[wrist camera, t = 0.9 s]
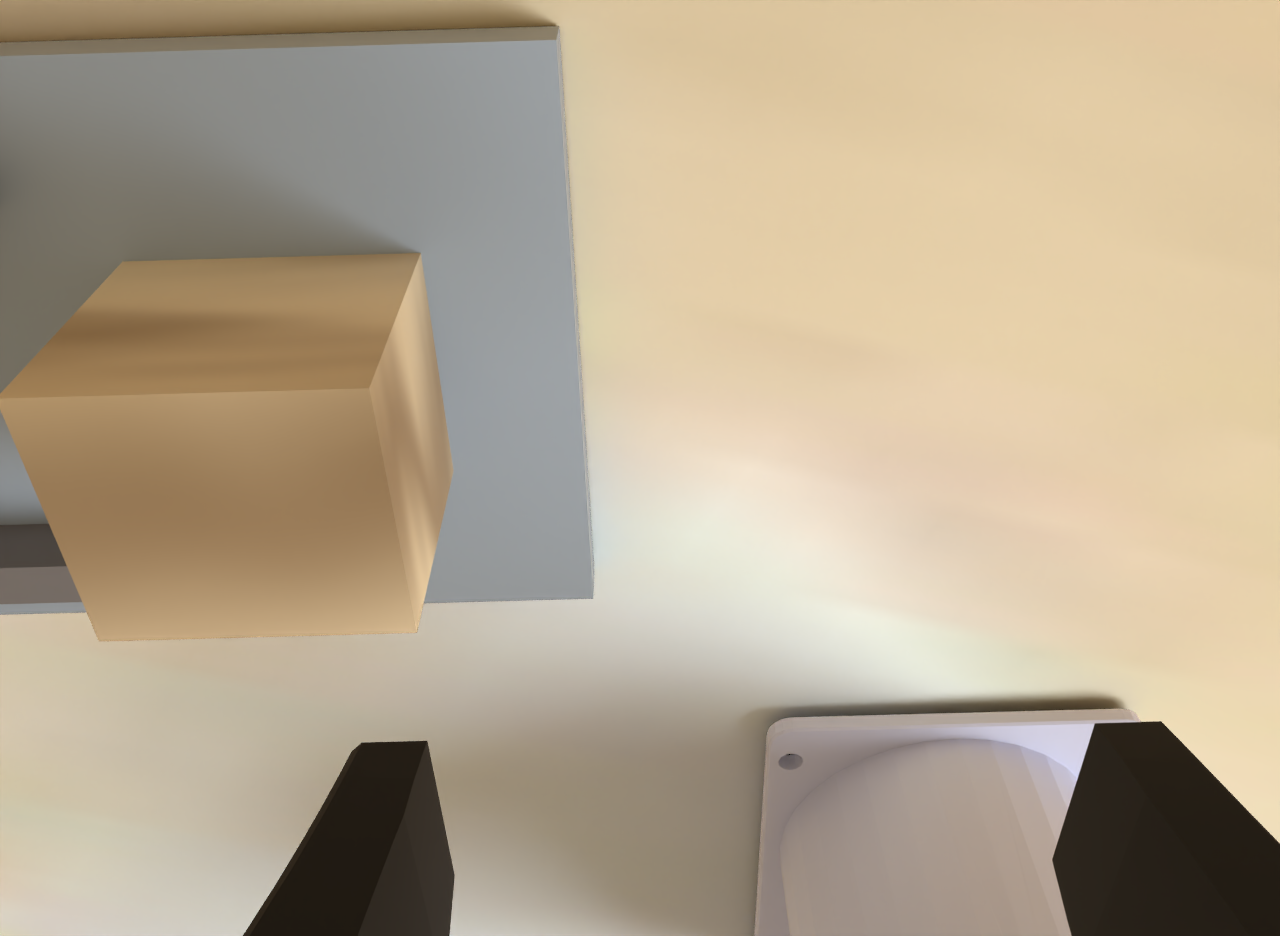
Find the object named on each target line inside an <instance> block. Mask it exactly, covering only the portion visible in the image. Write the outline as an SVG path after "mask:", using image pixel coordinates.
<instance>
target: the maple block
mask: <svg viewBox="0 0 1280 936" xmlns="http://www.w3.org/2000/svg"><path fill="white" fill-rule="evenodd" d="M0 410H1V413H2V415H3V417H4V420H5V422H6V424H7V427H8V429H9V431H10V434H11V436H12V438H13V441H14V443H15V445H16V448H17V450H18V452H19V455H20V457H21V460H22V462H23V464H24V467H25V469H26V471H27V474H28V476H29V478H30V481H31V483H32V485H33V488H34V490H35V492H36V495H37V497H38V499H39V502H40V504H41V506H42V509H43V511H44V513H45V516H46V518H47V520H48V523H49V525H50V527H51V530H52V532H53V534H54V537H55V539H56V542H57V544H58V546H59V549H60V551H61V553H62V556H63V558H64V560H65V563H66V565H67V567H68V570H69V572H70V574H71V577H72V579H73V581H74V584H75V586H76V588H77V591H78V593H79V595H80V598H81V600H82V602H83V605H84V607H85V609H86V612H87V614H88V617H89V619H90V621H91V624H92V626H93V628H94V631H95V633H96V635H97V638H98V640H99V641H131V640H168V639H205V638H242V637H279V636H316V635H353V634H390V633H417V630H418V626H419V621H420V617H421V613H422V608H423V604H424V599H425V595H426V590H427V586H428V582H429V577H430V573H431V568H432V564H433V560H434V555H435V551H436V546H437V542H438V537H439V533H440V529H441V524H442V520H443V515H444V511H445V507H446V502H447V498H448V493H449V489H450V485H451V480H452V476H453V471H454V470H453V463H452V457H451V450H450V443H449V437H448V430H447V423H446V417H445V410H444V404H443V397H442V390H441V384H440V377H439V370H438V364H437V357H436V351H435V344H434V337H433V331H432V324H431V317H430V311H429V304H428V298H427V291H426V284H425V278H424V271H423V264H422V258H421V253H402V254H367V255H332V256H297V257H262V258H227V259H192V260H157V261H123V262H122V263H121V264H120V265H119V266H118V267H117V268H116V269H115V270H114V271H113V272H112V273H111V275H110V276H109V277H108V278H107V279H106V280H105V281H104V282H103V283H102V284H101V285H100V286H99V288H98V289H97V290H96V291H95V292H94V293H93V294H92V295H91V296H90V297H89V298H88V299H87V300H86V302H85V303H84V304H83V305H82V306H81V307H80V308H79V309H78V310H77V311H76V312H75V313H74V315H73V316H72V317H71V318H70V319H69V320H68V321H67V322H66V323H65V324H64V325H63V326H62V328H61V329H60V330H59V331H58V332H57V333H56V334H55V335H54V336H53V337H52V338H51V339H50V340H49V342H48V343H47V344H46V345H45V346H44V347H43V348H42V349H41V350H40V351H39V352H38V353H37V355H36V356H35V357H34V358H33V359H32V360H31V361H30V362H29V363H28V364H27V365H26V366H25V368H24V369H23V370H22V371H21V372H20V373H19V374H18V375H17V376H16V377H15V378H14V379H13V380H12V382H11V383H10V384H9V385H8V386H7V387H6V388H5V389H4V390H3V391H2V392H1V393H0Z"/></svg>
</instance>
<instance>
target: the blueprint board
mask: <svg viewBox="0 0 1280 936" xmlns="http://www.w3.org/2000/svg"><path fill="white" fill-rule="evenodd" d="M402 253H421V258H422V264H423V271H424V278H425V284H426V291H427V298H428V304H429V311H430V317H431V324H432V331H433V337H434V344H435V351H436V357H437V364H438V370H439V377H440V384H441V390H442V397H443V404H444V410H445V417H446V423H447V430H448V437H449V443H450V450H451V457H452V463H453V470H454V471H453V476H452V480H451V485H450V489H449V493H448V498H447V502H446V507H445V511H444V515H443V520H442V524H441V529H440V533H439V537H438V542H437V546H436V551H435V555H434V560H433V564H432V568H431V573H430V577H429V582H428V586H427V590H426V595H425V599H424V603H447V602H484V601H521V600H558V599H593V592H594V560H593V544H592V528H591V513H590V497H589V482H588V466H587V451H586V435H585V419H584V404H583V388H582V373H581V357H580V342H579V326H578V311H577V295H576V279H575V264H574V248H573V233H572V217H571V202H570V186H569V171H568V155H567V139H566V124H565V108H564V93H563V77H562V62H561V46H560V30H559V26H542V27H508V28H474V29H440V30H406V31H372V32H337V33H303V34H269V35H235V36H201V37H167V38H133V39H99V40H65V41H31V42H0V393H1V392H2V391H3V390H4V389H5V388H6V387H7V386H8V385H9V384H10V383H11V382H12V380H13V379H14V378H15V377H16V376H17V375H18V374H19V373H20V372H21V371H22V370H23V369H24V368H25V366H26V365H27V364H28V363H29V362H30V361H31V360H32V359H33V358H34V357H35V356H36V355H37V353H38V352H39V351H40V350H41V349H42V348H43V347H44V346H45V345H46V344H47V343H48V342H49V340H50V339H51V338H52V337H53V336H54V335H55V334H56V333H57V332H58V331H59V330H60V329H61V328H62V326H63V325H64V324H65V323H66V322H67V321H68V320H69V319H70V318H71V317H72V316H73V315H74V313H75V312H76V311H77V310H78V309H79V308H80V307H81V306H82V305H83V304H84V303H85V302H86V300H87V299H88V298H89V297H90V296H91V295H92V294H93V293H94V292H95V291H96V290H97V289H98V288H99V286H100V285H101V284H102V283H103V282H104V281H105V280H106V279H107V278H108V277H109V276H110V275H111V273H112V272H113V271H114V270H115V269H116V268H117V267H118V266H119V265H120V264H121V263H122V262H123V261H157V260H192V259H227V258H262V257H297V256H332V255H367V254H402ZM79 612H86V609H85V607H84V605H83V602H82V600H81V598H80V595H79V593H78V591H77V588H76V586H75V584H74V581H73V579H72V577H71V574H70V572H69V570H68V567H67V565H66V563H65V560H64V558H63V556H62V553H61V551H60V549H59V546H58V544H57V542H56V539H55V537H54V534H53V532H52V530H51V527H50V525H49V523H48V520H47V518H46V516H45V513H44V511H43V509H42V506H41V504H40V502H39V499H38V497H37V495H36V492H35V490H34V488H33V485H32V483H31V481H30V478H29V476H28V474H27V471H26V469H25V467H24V464H23V462H22V460H21V457H20V455H19V452H18V450H17V448H16V445H15V443H14V441H13V438H12V436H11V434H10V431H9V429H8V427H7V424H6V422H5V420H4V417H3V415H2V413H1V410H0V615H6V614H43V613H79Z"/></svg>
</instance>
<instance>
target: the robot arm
mask: <svg viewBox="0 0 1280 936" xmlns="http://www.w3.org/2000/svg"><path fill="white" fill-rule="evenodd" d="M791 753H792V754H793V755H788V756H787V755H786V754H791ZM453 887H454V871H453V866H452V861H451V856H450V851H449V846H448V841H447V836H446V831H445V826H444V821H443V817H442V812H441V807H440V802H439V797H438V792H437V787H436V782H435V777H434V772H433V767H432V762H431V758H430V753H429V748H428V743H427V741H408V742H370V743H361V744H360V745H359V746H358V747H356V748H355V749H354V750H353V751H352V752H351V754H350V756H349V758H348V760H347V761H346V763H345V765H344V767H343V769H342V771H341V773H340V775H339V777H338V778H337V780H336V782H335V784H334V786H333V788H332V789H331V791H330V793H329V795H328V797H327V798H326V800H325V802H324V804H323V806H322V807H321V809H320V811H319V813H318V814H317V816H316V818H315V820H314V821H313V823H312V825H311V827H310V828H309V830H308V832H307V833H306V835H305V837H304V839H303V840H302V842H301V844H300V845H299V847H298V849H297V850H296V852H295V854H294V855H293V857H292V859H291V860H290V862H289V864H288V865H287V867H286V869H285V870H284V872H283V873H282V875H281V877H280V878H279V880H278V882H277V883H276V885H275V887H274V888H273V890H272V891H271V893H270V894H269V896H268V898H267V899H266V901H265V902H264V904H263V905H262V907H261V908H260V910H259V912H258V913H257V915H256V916H255V918H254V919H253V921H252V922H251V924H250V926H249V927H248V929H247V930H246V932H245V933H244V935H243V936H449V933H450V922H451V910H452V898H453ZM754 936H1280V843H1279V842H1278V841H1277V840H1276V839H1275V838H1274V837H1273V836H1272V835H1271V834H1270V833H1269V832H1268V831H1267V830H1266V829H1265V828H1264V827H1263V826H1262V825H1261V824H1260V823H1259V822H1258V821H1257V820H1256V819H1255V818H1254V817H1253V816H1252V815H1251V814H1250V813H1249V812H1248V811H1247V809H1246V808H1245V807H1244V806H1243V805H1242V804H1241V803H1240V802H1239V801H1238V800H1237V799H1236V798H1235V797H1234V796H1233V795H1232V794H1231V793H1230V792H1229V791H1228V790H1227V789H1226V788H1225V787H1224V786H1223V785H1222V784H1221V783H1220V781H1219V780H1218V779H1217V778H1216V777H1215V776H1214V775H1213V774H1212V773H1211V772H1210V771H1209V770H1208V769H1207V768H1206V767H1205V766H1204V765H1203V764H1202V763H1201V762H1200V761H1199V760H1198V759H1197V758H1196V757H1195V756H1194V755H1193V754H1192V752H1191V751H1190V750H1189V749H1188V748H1187V747H1186V746H1185V745H1184V744H1183V743H1182V742H1181V741H1180V740H1179V739H1178V738H1177V737H1176V736H1175V735H1174V734H1173V733H1172V732H1171V731H1170V730H1169V729H1168V728H1167V727H1166V726H1165V725H1164V724H1163V723H1162V722H1161V721H1160V722H1141V721H1140V719H1139V717H1138V716H1137V714H1136V713H1135V712H1133V711H1131V710H1127V709H1085V710H1047V711H1010V712H972V713H935V714H897V715H860V716H823V717H790V718H784V719H781V720H779V721H777V722H775V723H773V724H772V725H771V726H770V727H769V729H768V732H767V737H766V753H765V769H764V786H763V802H762V818H761V834H760V850H759V867H758V883H757V899H756V915H755V931H754Z"/></svg>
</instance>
